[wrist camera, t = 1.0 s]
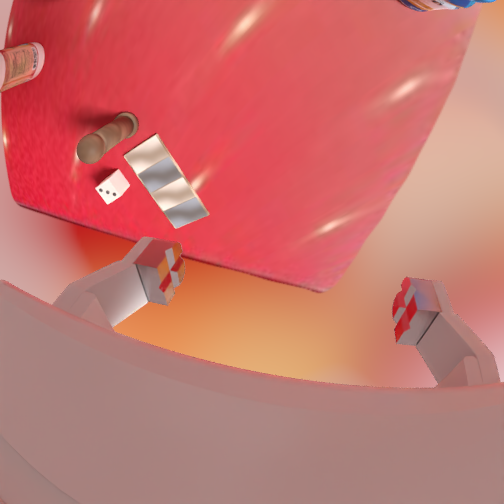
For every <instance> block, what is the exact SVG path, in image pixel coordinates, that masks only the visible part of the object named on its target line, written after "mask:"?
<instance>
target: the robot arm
mask: <svg viewBox="0 0 504 504" xmlns="http://www.w3.org/2000/svg"><path fill="white" fill-rule="evenodd" d="M181 253H182V247H181V244H180V243H179V242H175V241H169V240H164V239H158V238H151V237H142V238H141V239H140V240H139V241H138V243H137V244H136V245H135V246H134V247H133V248H132V250H131V251H130V252H129V253H128V254H127V255H126V256H125V257H124V259H123V260H122V261H116V262H114V263H112V264H110V265H108V266H106V267H103V268H102V269H99V270H97V271H95V272H93V273H91V274H89V275H87V276H85V277H83V278H81V279H79V280H77V281H75V282H73V283H71V284H69V285H68V286H67V287H66V289H65V290H64V291H63V292H62V293H61V295H60V296H59V297H58V298H57V299H56V301H55V302H54V303H53V304H52V305H51V304H49V303H47V302H44V301H42V300H40V299H38V298H37V297H35V296H32V295H31V294H29V293H27V292H25V291H23V290H21V289H19V288H18V287H16V286H14V285H12V284H11V283H9V282H7V281H5V280H0V504H504V382H500V378H499V374H498V369H497V366H496V362H495V358H494V355H493V354H492V352H491V351H490V350H489V349H488V348H487V346H486V345H485V344H484V343H483V342H482V341H481V340H480V338H479V337H478V336H477V335H476V334H475V333H474V332H473V331H472V329H471V328H470V327H469V326H468V325H467V324H466V323H465V322H464V321H463V320H462V319H461V318H460V317H459V316H458V314H454V313H453V309H452V306H451V303H450V300H449V297H448V294H447V292H446V289H445V287H444V284H443V282H441V281H437V280H425V279H419V278H412V277H406V278H405V279H404V280H403V282H402V284H401V287H402V291H401V292H399V293H398V294H397V295H396V297H395V299H394V302H393V307H392V316H393V320H394V321H395V322H396V323H397V325H396V327H395V329H394V331H395V339H396V344H404V345H414V346H416V348H417V350H418V351H419V353H420V354H421V356H422V358H423V359H424V361H425V362H426V364H427V366H428V367H429V369H430V371H431V372H432V374H433V376H434V377H435V379H436V381H437V383H438V385H437V386H436V387H434V388H393V387H370V386H357V385H344V384H334V383H325V382H317V381H309V380H302V379H295V378H289V377H283V376H277V375H271V374H265V373H260V372H255V371H250V370H245V369H240V368H236V367H232V366H227V365H223V364H218V363H215V362H210V361H207V360H203V359H199V358H195V357H191V356H188V355H184V354H181V353H177V352H174V351H170V350H167V349H163V348H161V347H158V346H154V345H151V344H148V343H145V342H142V341H139V340H136V339H134V338H130V337H128V336H125V335H122V334H120V333H117V332H115V331H114V330H113V328H112V327H113V326H115V325H117V324H118V323H119V322H121V321H122V320H124V319H125V318H127V317H128V316H129V315H131V314H132V313H134V312H135V311H137V310H138V309H139V308H141V307H142V306H144V305H145V304H147V303H148V301H149V302H153V303H158V304H162V305H168V304H169V303H170V301H171V299H172V297H173V295H174V294H175V292H174V288H175V287H177V286H179V285H180V283H181V282H182V280H183V277H184V274H185V263H184V260H183V259H182V258H181V257H180V255H181Z"/></svg>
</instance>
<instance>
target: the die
mask: <svg viewBox="0 0 504 504" xmlns="http://www.w3.org/2000/svg"><path fill="white" fill-rule="evenodd" d="M129 186H130V184H129V183H128V182H127V180H126V179H125V177H124V176H123V174H122V173H121V172H120V170H119V169H118V170H116V171H115V172H114V173H112V174H111V175H109V176H108V177H107V178H105V179H104V180H103V181H102V182H101V183H100V184H99V185H98V186H97V187H96V188H95V189H96V190H97V191H98V193H99V194H100V195H101V197H102V198H103V199H104V201H105V202H106V203H107V205H108V204H109V203H111V202H112V201H114V200H116V199H117V198H119V197H120V196H121V195H122V194H123V193H124V192H125V191H126V190H127V188H128V187H129Z"/></svg>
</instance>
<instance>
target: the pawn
mask: <svg viewBox="0 0 504 504" xmlns="http://www.w3.org/2000/svg"><path fill="white" fill-rule="evenodd" d="M138 127H139V123H138V119H137V117H136V116H135V115H134V114H132V113H130V112H123V113H121V114H119V115H118V116H117V117H116V118H115V120H114V121H112V122H110V123H108V124H107V125H105V126H103V127H102V128H100V129H98V130H97V131H95V132H94V133H92V134H88V135H86V136H84V137H83V138H82V139H81V140H80V141H79V143H78V146H77V155H78V157H79V159H80V160H81V161H82V162H84V163H86V164H93V163H95V162H97V161H99V160H100V159H101V158H102V157H103V155H104V154H105V153H106V152H107V151H109V150H110V149H111V148H112V147H114V146H115V145H116V144H118V143H119V142H120V141H122V140H123V139H125V138H130V137H131V136H133V135H134V134H135V133H136V132H137V130H138Z"/></svg>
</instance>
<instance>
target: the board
mask: <svg viewBox="0 0 504 504" xmlns="http://www.w3.org/2000/svg"><path fill="white" fill-rule="evenodd" d="M124 157H125V159H126V160H127V162H128V163H129V165H130V166H131V168H132V169H133V170H134V172H135V173H136V175H137V176H138V178H139V179H140V180H141V182H142V183H143V185H144V186H145V188H146V189H147V190H148V192H149V193H150V195H151V196H152V197H153V199H154V200H155V201H156V203H157V204H158V206H159V207H160V208H161V210H162V211H163V212H164V214H165V215H166V217H167V218H168V219H169V221H170V222H171V223H172V225H173V226H174V227H175V229H176V228H179V227H181V226H183V225H186V224H188V223H191V222H193V221H196V220H198V219H200V218H203V217H205V216H208V215H209V212H208V211H207V209H206V208H205V206H204V204H203V203H202V201H201V200H200V198H199V197H198V195H197V194H196V192H195V191H194V189H193V188H192V186H191V185H190V183H189V182H188V180H187V179H186V177H185V175H184V174H183V172H182V171H181V169H180V168H179V166H178V165H177V163H176V162H175V160H174V158H173V157H172V155H171V154H170V152H169V151H168V149H167V148H166V146H165V145H164V143H163V141H162V140H161V138H160V137H159V135H158V134H156V135H154V136H152V137H151V138H149V139H148V140H146V141H145V142H143V143H142V144H140V145H139V146H137V147H136V148H134V149H133V150H131V151H130V152H128V153H127V154H125V155H124Z"/></svg>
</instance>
